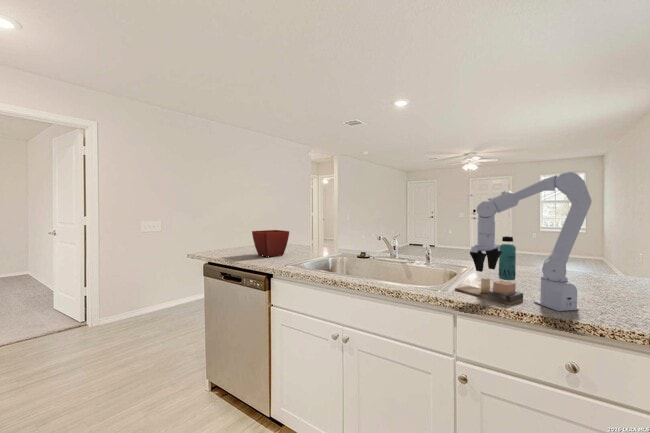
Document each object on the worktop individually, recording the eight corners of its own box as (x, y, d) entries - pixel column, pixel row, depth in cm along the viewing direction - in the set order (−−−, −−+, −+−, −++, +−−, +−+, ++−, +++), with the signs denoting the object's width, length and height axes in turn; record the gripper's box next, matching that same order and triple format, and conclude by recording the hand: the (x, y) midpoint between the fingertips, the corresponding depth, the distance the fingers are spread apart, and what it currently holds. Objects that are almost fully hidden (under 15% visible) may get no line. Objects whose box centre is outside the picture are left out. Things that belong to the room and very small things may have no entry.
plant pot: (275, 252, 223) (275, 229, 222) (290, 255, 208) (290, 231, 207) (251, 255, 210) (251, 230, 210) (265, 259, 196) (264, 232, 195)
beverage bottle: (495, 281, 135) (495, 236, 135) (505, 280, 138) (506, 235, 137) (508, 284, 129) (508, 237, 129) (519, 283, 132) (519, 236, 131)
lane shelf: (523, 301, 107) (523, 293, 107) (509, 305, 103) (509, 296, 103) (468, 287, 126) (468, 280, 126) (455, 290, 122) (455, 283, 122)
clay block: (515, 297, 108) (515, 283, 108) (507, 299, 106) (507, 285, 105) (485, 290, 118) (485, 277, 117) (477, 292, 115) (477, 278, 115)
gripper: (487, 232, 121) (487, 266, 122) (464, 234, 114) (463, 270, 115) (505, 233, 115) (505, 269, 116) (481, 235, 108) (481, 273, 109)
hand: (485, 270), depth 115 cm, fingers open, 7 cm apart
